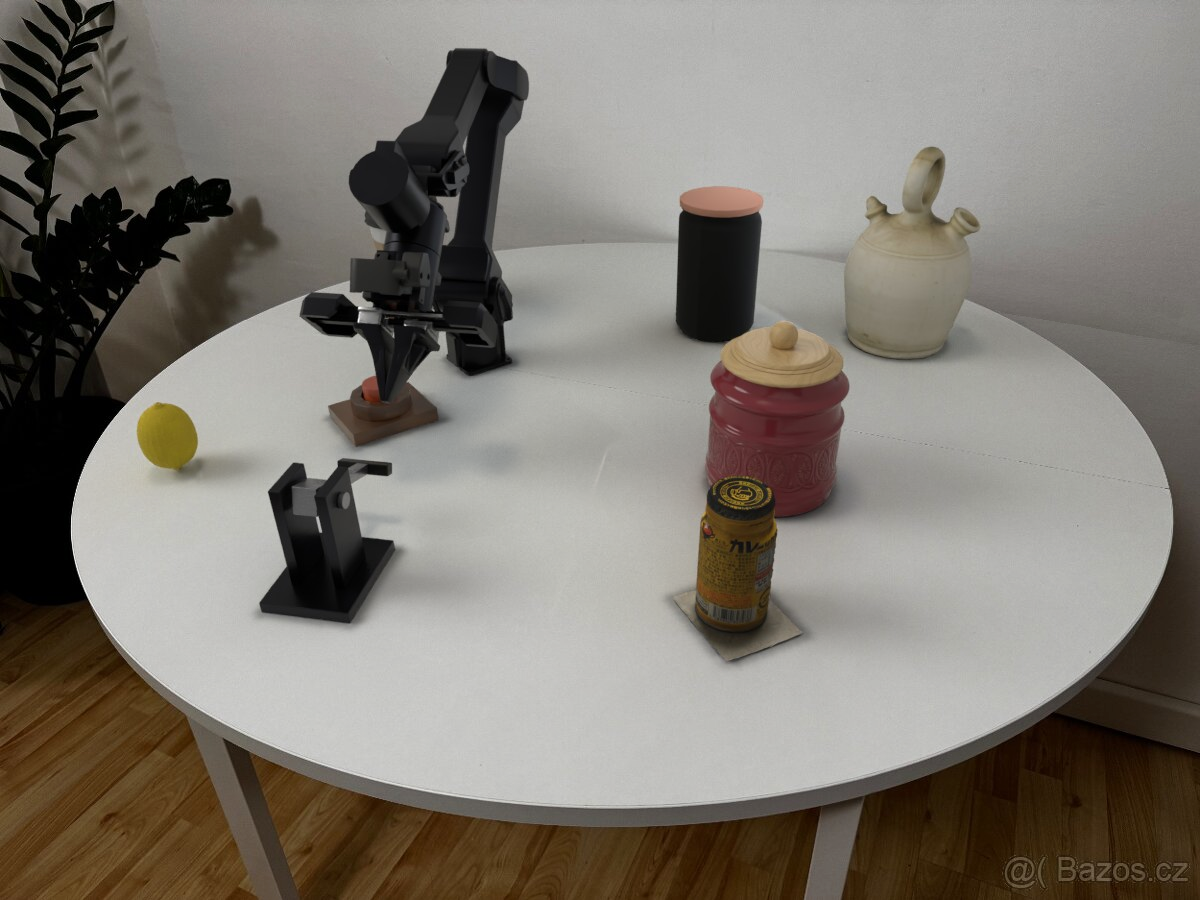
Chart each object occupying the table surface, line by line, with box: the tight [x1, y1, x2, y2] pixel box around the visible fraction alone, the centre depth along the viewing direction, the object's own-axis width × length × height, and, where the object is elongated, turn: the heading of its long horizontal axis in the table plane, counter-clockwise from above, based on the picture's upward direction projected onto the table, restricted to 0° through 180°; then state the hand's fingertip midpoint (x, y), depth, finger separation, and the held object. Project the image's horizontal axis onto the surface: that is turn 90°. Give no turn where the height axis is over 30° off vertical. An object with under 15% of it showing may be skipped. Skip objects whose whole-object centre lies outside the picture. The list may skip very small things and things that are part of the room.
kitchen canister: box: [704, 320, 851, 517], centre depth 86 cm, size 13×13×18 cm
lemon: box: [136, 401, 199, 471], centre depth 93 cm, size 6×6×8 cm
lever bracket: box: [259, 462, 396, 624], centre depth 76 cm, size 10×8×11 cm
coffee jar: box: [675, 185, 764, 344], centre depth 118 cm, size 11×11×18 cm
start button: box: [361, 375, 381, 402], centre depth 101 cm, size 4×4×2 cm
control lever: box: [292, 457, 393, 518], centre depth 79 cm, size 12×5×2 cm, turn 169°
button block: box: [327, 381, 440, 448], centre depth 102 cm, size 10×8×4 cm
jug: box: [843, 146, 981, 360], centre depth 112 cm, size 15×16×25 cm
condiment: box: [671, 476, 803, 662], centre depth 71 cm, size 7×8×12 cm
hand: (385, 402), depth 87 cm, fingers closed
